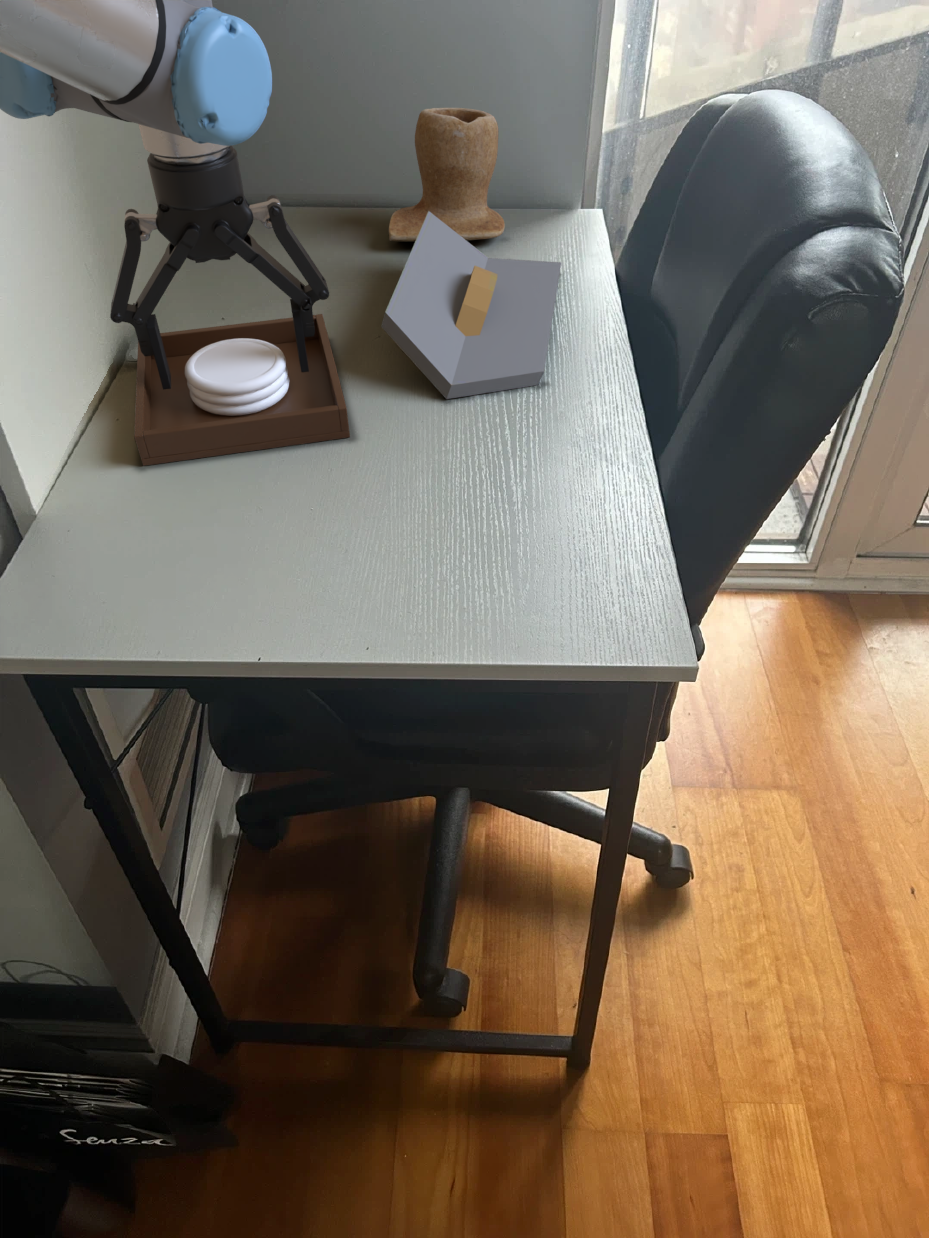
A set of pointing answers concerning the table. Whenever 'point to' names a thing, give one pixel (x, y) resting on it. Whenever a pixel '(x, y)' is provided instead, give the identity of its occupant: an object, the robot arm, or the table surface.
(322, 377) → the holder
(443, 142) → the stone cup
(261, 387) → the coaster
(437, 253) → the shield
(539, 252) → the table surface
